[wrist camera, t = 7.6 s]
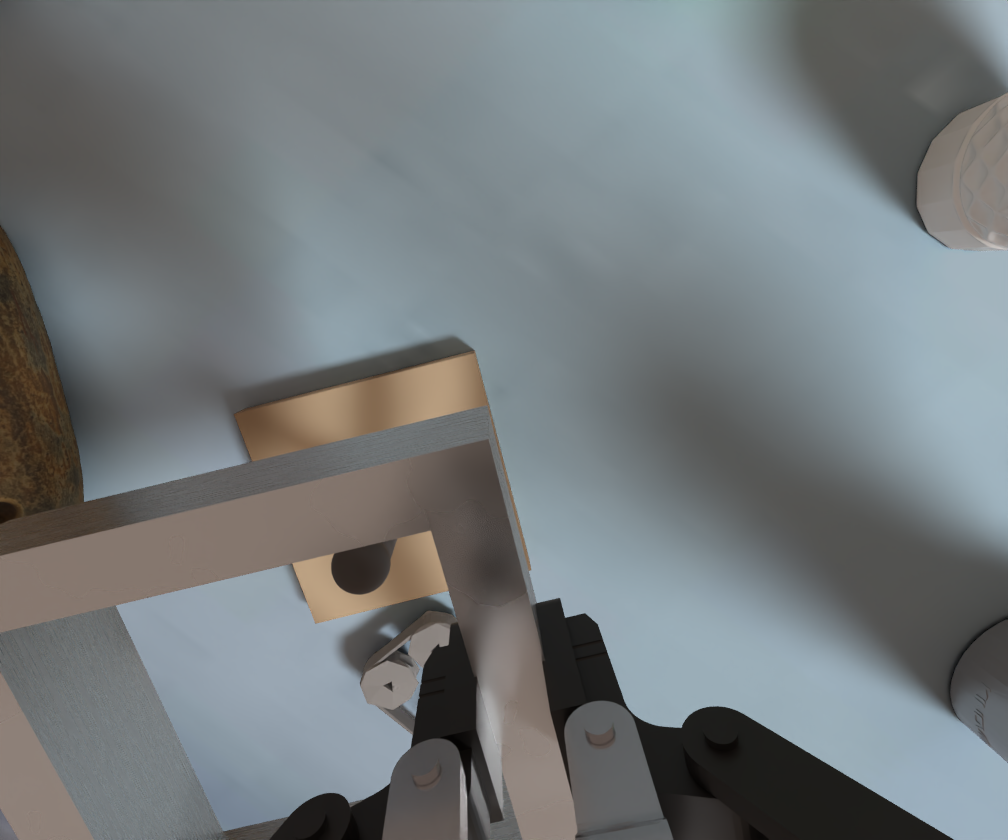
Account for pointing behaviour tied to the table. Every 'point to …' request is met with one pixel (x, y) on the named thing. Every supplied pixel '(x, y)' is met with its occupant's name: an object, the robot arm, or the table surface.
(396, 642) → the pulley system
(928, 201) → the white cup
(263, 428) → the wooden board with peg
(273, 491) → the link
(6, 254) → the brown cylinder
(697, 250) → the table surface
